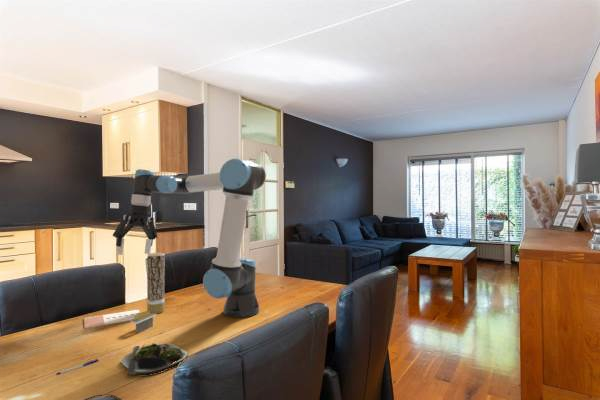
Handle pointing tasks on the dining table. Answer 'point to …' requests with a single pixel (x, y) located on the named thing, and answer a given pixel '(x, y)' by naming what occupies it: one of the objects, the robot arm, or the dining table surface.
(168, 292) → the dining table surface
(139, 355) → the salad plate
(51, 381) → the dining table surface
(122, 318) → the ticket board
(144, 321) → the platform
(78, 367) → the ballpoint pen
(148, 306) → the bark-patterned cylinder
